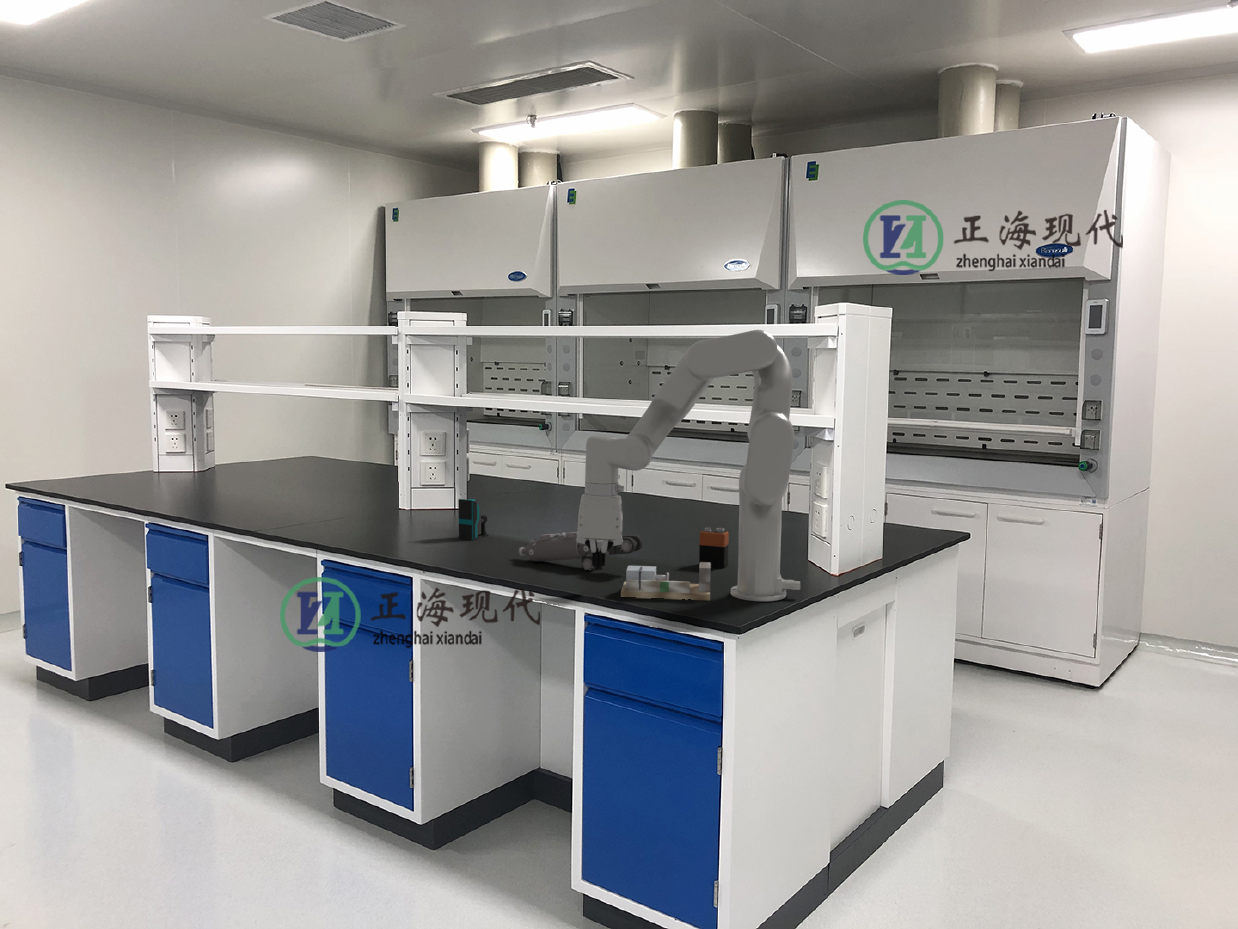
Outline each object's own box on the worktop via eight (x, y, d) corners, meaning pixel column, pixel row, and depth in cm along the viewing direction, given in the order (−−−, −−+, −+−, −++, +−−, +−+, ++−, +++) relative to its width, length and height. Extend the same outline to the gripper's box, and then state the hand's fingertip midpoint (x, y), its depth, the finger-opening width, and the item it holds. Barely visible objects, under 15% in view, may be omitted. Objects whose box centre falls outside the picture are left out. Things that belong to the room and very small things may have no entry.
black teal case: (493, 496, 282) (472, 500, 274) (493, 535, 284) (472, 541, 275) (478, 494, 285) (457, 499, 276) (478, 533, 286) (457, 539, 278)
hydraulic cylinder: (635, 569, 229) (629, 529, 229) (515, 575, 248) (509, 538, 247) (648, 564, 236) (643, 524, 235) (530, 570, 254) (525, 534, 254)
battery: (723, 568, 241) (724, 530, 240) (698, 566, 244) (699, 528, 243) (728, 565, 245) (729, 527, 244) (703, 563, 248) (704, 525, 247)
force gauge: (668, 583, 217) (669, 565, 216) (667, 592, 209) (667, 572, 208) (628, 582, 217) (628, 564, 217) (625, 590, 210) (625, 571, 209)
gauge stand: (709, 590, 218) (710, 561, 217) (709, 600, 209) (710, 569, 208) (624, 587, 220) (624, 558, 219) (620, 597, 211) (621, 567, 210)
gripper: (635, 489, 216) (632, 567, 218) (571, 486, 217) (568, 563, 220) (632, 493, 209) (629, 574, 211) (566, 490, 210) (564, 570, 212)
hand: (598, 568), depth 215 cm, fingers closed
